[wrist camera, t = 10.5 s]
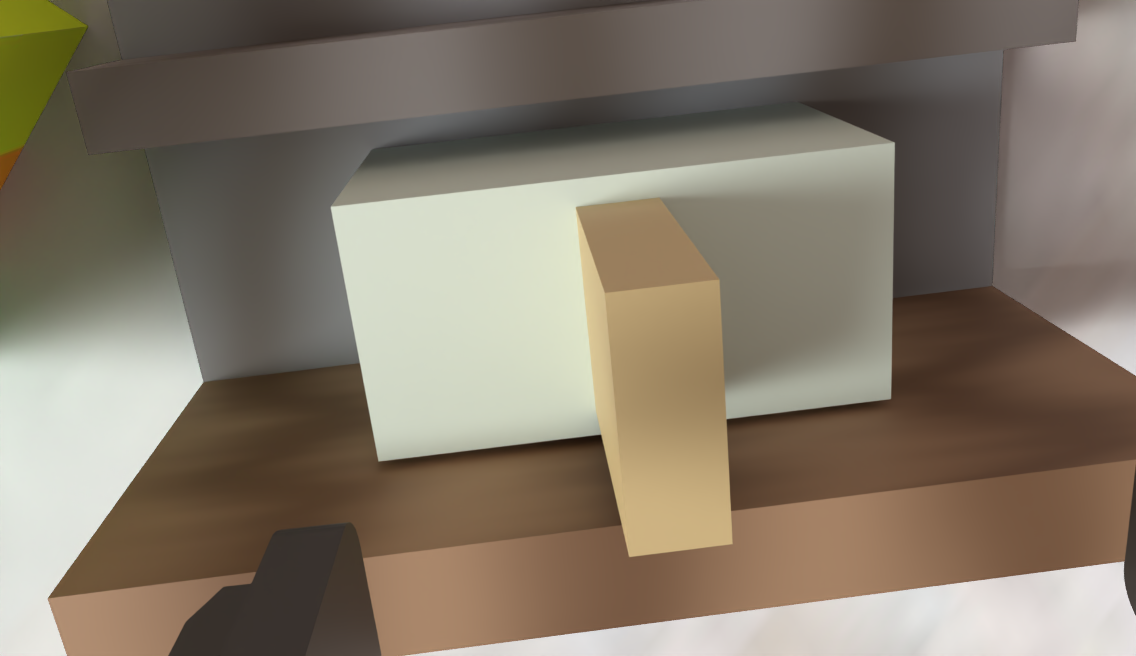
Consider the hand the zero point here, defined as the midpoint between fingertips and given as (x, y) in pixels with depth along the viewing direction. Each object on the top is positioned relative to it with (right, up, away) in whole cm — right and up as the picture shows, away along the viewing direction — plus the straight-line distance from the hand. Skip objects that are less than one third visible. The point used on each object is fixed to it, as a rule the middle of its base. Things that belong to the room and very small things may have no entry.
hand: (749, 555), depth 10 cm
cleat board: (-1, +5, +14) cm, 16 cm away
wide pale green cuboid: (-1, +5, +14) cm, 15 cm away
